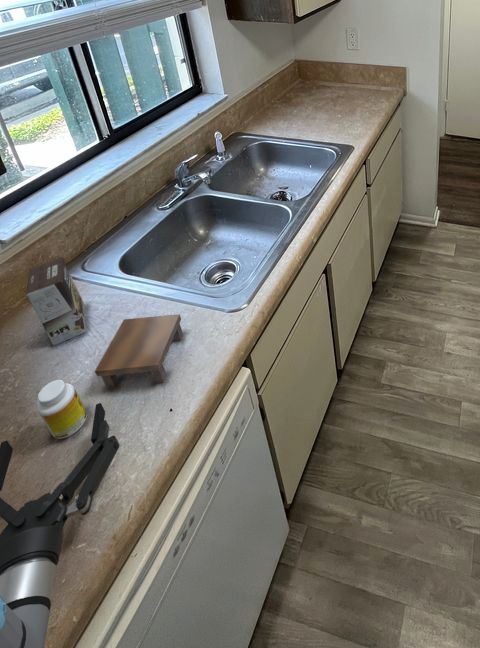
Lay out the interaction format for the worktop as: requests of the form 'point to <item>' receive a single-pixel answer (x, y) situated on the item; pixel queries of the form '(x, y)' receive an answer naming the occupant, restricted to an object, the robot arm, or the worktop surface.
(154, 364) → the stool
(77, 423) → the supplement bottle
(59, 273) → the coffee box
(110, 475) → the worktop surface
